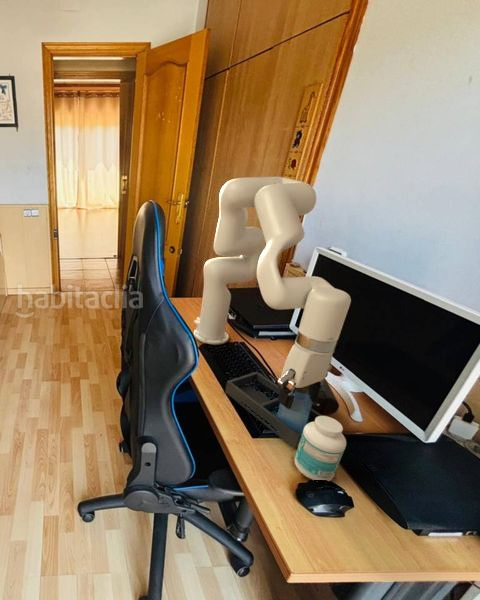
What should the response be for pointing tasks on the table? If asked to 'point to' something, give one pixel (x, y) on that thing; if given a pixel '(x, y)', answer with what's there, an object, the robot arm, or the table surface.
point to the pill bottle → (320, 448)
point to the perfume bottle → (296, 410)
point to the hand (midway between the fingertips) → (297, 399)
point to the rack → (264, 406)
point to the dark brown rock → (325, 401)
